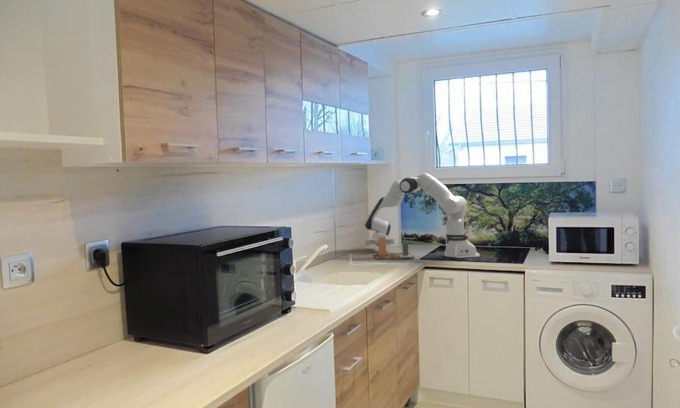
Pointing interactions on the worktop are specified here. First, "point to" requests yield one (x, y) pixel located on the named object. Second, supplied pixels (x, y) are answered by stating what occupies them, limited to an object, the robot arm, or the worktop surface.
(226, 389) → the worktop surface
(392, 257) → the board
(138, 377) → the worktop surface
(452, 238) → the robot arm
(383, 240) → the block
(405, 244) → the grey upright piece
